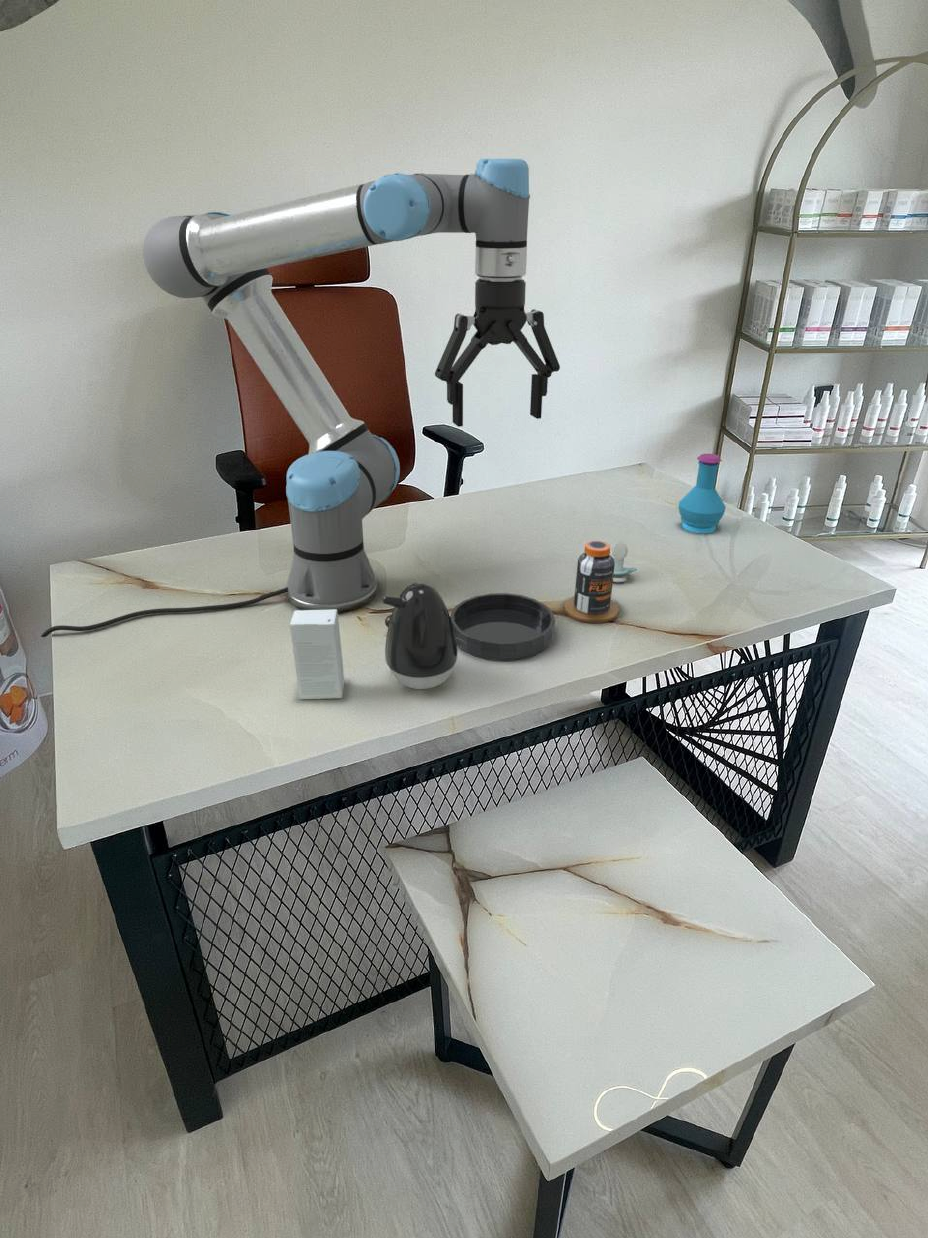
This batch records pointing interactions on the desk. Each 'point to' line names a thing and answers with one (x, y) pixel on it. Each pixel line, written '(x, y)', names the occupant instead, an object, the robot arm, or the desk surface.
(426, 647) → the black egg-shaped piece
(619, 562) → the pacifier
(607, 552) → the pill bottle
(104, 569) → the desk surface
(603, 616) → the coaster
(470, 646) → the pan
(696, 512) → the perfume bottle
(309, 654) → the cosmetic box
